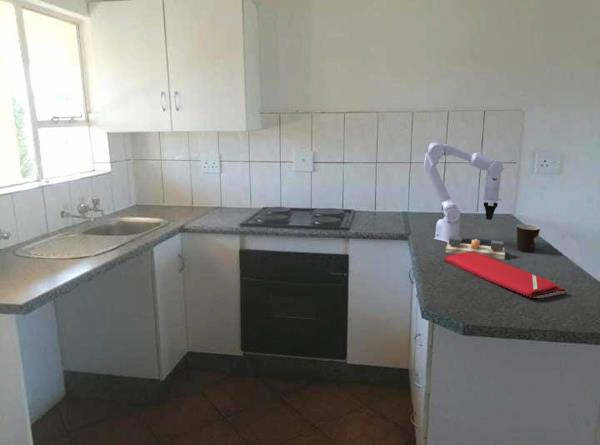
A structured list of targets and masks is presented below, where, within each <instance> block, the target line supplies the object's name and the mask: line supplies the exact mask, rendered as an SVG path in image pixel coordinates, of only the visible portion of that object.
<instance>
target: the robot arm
mask: <svg viewBox="0 0 600 445" xmlns="http://www.w3.org/2000/svg"><path fill="white" fill-rule="evenodd" d="M424 156H425V157H424V161H423V169H424V170H425V173H426V174H427V177H428V179H429V180H430V182H431V184H432V186H433V188H434V191H435V193H436V195H437V197H438V200H439V201H440V203H441V206H442V208H443V209H442V210H443V215H444V217H443V218H440V219H438V220H437V222H436V225H435V234H434V236H435V237H434V238H433V240H438V241H441V242H446V243H448V242H449V238H450V236H454V237H460V235H459V234H460V221H461V220H460V219H461V216H462V215H461V214H462V213H461V211H460V210H459V208H458V206H457V205H456V204H454V202H453V200H452V198H451V196H450V194H449V191H448V190H447V187H446V185H445V184H444V181H443V179H442V177H441V175H440V173H439V170H438V169H437V165H438V163H439V161H440V159H442V157H443V156H444V157H447V156H448V157H449V156H454V157H456V158H460V159H463V160H465V161H468V162H469V165H470V166H472V167H475V168H477V169H479V170H482V171H486V177H485V186H484V193H483V194H484V195H483V198H482V199H483V201H485V202H483V207H484V211H485V218H486V220H490V221H492V219H493V217H494V215H495V214H494V213H495V210H496V209H497V207H498V202H502V198H500V197H499V196H500V188H501V178H502V177H501V176H502V173H503V170H504V165H503V163H502V162H501V161H499V160H497V159H495V158H494V157H492V156H490V157H489V156H486V155H484V154H483V153H482V152H481V151H479V152H474V153H470V152H467V151H465V150H462V149H460V148H457V147H455V146H453V145H450V144H446V143H440V142H439V141H433V142H431V143H429V145H428V147H426V150H425V155H424ZM462 241H463V239H462V238H461V242H462Z"/></svg>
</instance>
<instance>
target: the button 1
mask: <svg viewBox="0 0 600 445" xmlns="http://www.w3.org/2000/svg"><path fill="white" fill-rule="evenodd" d="M461 239H462V237H461V236H458V237H454V236H450V238H449V245H459V246H460V244H461V243H462V241H461Z"/></svg>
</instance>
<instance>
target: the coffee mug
mask: <svg viewBox="0 0 600 445" xmlns="http://www.w3.org/2000/svg"><path fill="white" fill-rule="evenodd" d="M540 231H541V227H540V226H537V225H534V224H517V225H516V250H517V251H519V252H521V253H525V254H526V253H527V254H529V253H530V254H531V253H534V252H535V250H536V249H535V248H536V246H537V242H538V237H539V235H540V234H539V233H540Z"/></svg>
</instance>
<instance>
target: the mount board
mask: <svg viewBox="0 0 600 445" xmlns="http://www.w3.org/2000/svg"><path fill="white" fill-rule="evenodd" d="M446 243H447V244H446V247H445V254H450V255H454V254H459V253H468V252H472V253H479V254H483V255H486V256H488V257H490V258H493V259H495V260H505V259H506V258H505V257H506V251H505V247H503V250H497V249H491V245H490V246H489V245H483V244H482V245H481V244H480V247H479V249H472V248H471V243H462V242H461V244H460V246H459V245H449V242H446Z"/></svg>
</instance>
